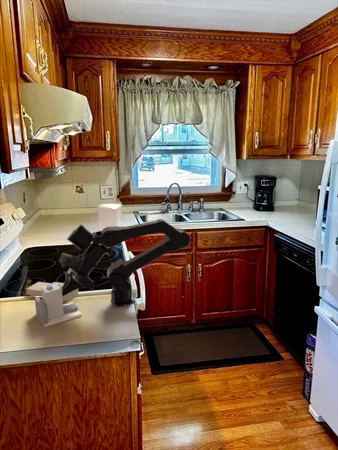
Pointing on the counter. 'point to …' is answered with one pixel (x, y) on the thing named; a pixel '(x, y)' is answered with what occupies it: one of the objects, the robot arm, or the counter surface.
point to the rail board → (69, 313)
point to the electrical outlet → (36, 288)
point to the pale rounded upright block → (109, 216)
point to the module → (53, 300)
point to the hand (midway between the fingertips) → (60, 295)
